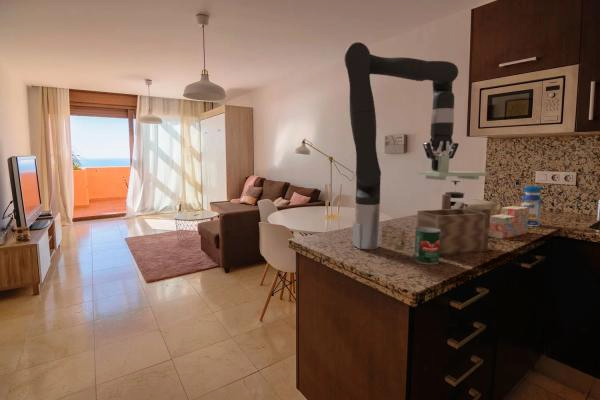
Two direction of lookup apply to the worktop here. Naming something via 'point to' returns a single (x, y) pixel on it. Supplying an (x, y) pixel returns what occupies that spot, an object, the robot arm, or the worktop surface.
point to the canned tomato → (427, 245)
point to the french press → (456, 195)
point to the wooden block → (446, 203)
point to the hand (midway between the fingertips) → (439, 170)
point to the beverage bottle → (532, 204)
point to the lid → (443, 171)
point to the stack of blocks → (509, 222)
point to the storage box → (456, 229)
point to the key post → (487, 222)
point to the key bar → (484, 204)
